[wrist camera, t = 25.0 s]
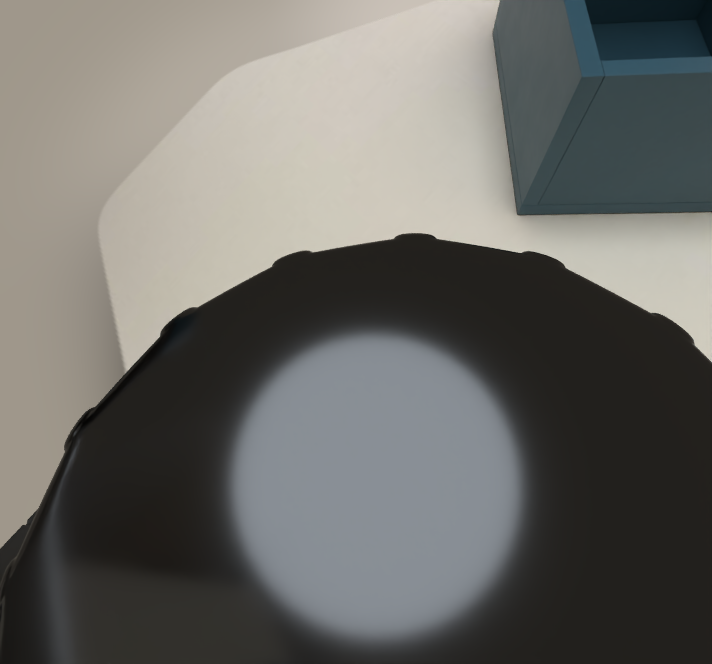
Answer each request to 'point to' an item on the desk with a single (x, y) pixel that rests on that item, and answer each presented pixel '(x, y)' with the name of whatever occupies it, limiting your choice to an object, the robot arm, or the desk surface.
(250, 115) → the desk surface
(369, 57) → the desk surface
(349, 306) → the ink bottle
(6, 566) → the robot arm
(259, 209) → the desk surface
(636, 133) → the chest
